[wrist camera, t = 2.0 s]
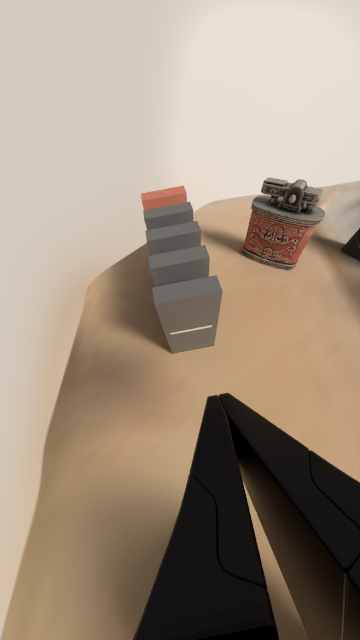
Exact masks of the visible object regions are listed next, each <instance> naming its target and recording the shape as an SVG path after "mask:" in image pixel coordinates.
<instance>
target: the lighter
mask: <svg viewBox="0 0 360 640" xmlns="http://www.w3.org/2000/svg"><path fill="white" fill-rule="evenodd" d="M261 192H262V193H264V194H268V195H271V196H258V197H256V198H255V199H254V200H253V203H252V214H251V218H250V222H249V226H248V231H247V235H246V239H245V243H244V244H243V247H242V254H243V255H244V256H246V257H248V258H250V259H252V260H254V261H256V262H259V263H261V264H264V265H267V266H270V267H274V268H278V269H283V270H292V269H294V268H295V266H296V265H297V263H298V258H299V256H300V255H301V253H302V251H303V249H304V248H305V246H306V244H307V242H308V240H309V239H310V237H311V235H312V233H313V232H314V230H315V228H316V226H317V225H318V224H319V223H320V222H321V221H322V219H323V217H324V215H325V212H324V211H323V210H322V209H321V208H318V207H315V206H316V204H317V203H318V201H319V199H320V197H321V195H322V193H323V190H322V189H319V188H314V187H308V186H307V182H306V181H305V180H297V181H296V182H295V183H293V184H292V183H287V181H285V180H280V179H275V178H267V179H266V180H265V181H264V182H263V186H262V190H261ZM280 197H282V198H280ZM306 203H307V204H306Z"/></svg>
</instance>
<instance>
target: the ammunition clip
mask: <svg viewBox="0 0 360 640" xmlns="http://www.w3.org/2000/svg"><path fill="white" fill-rule="evenodd" d="M341 251H342V252H344V253H346V254H348V255H350V256H352V257H354V258H356V259H358V260H360V228H359V230H358V231H357V232H356V233H355V234H354V235H353V237H352V238H351V239H350V240H349V241H348V242H347V244H346V245H345V246H344V247H343V248H342V249H341Z"/></svg>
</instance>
